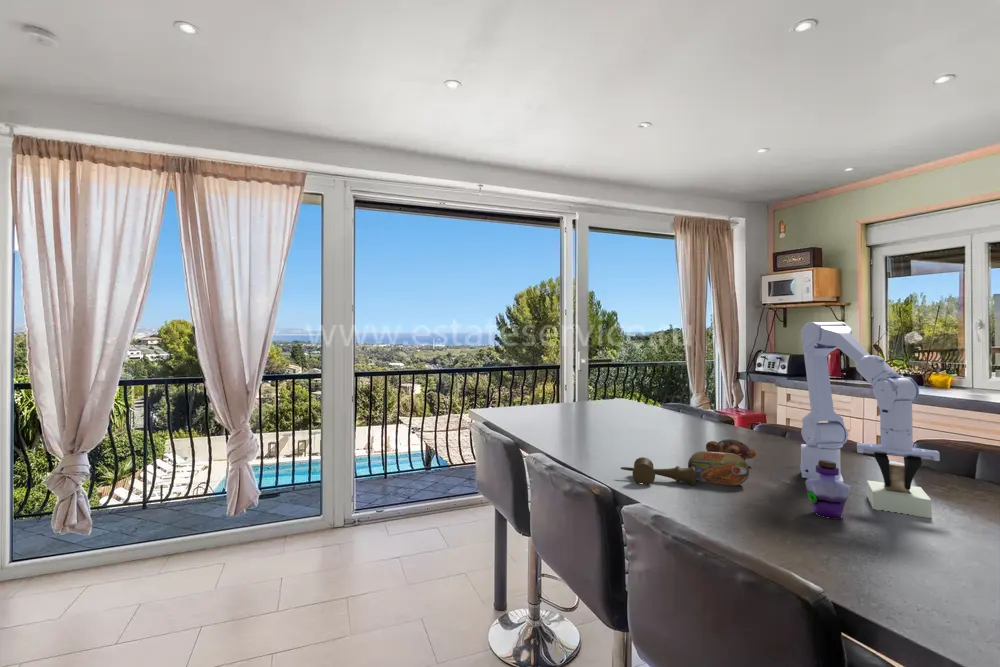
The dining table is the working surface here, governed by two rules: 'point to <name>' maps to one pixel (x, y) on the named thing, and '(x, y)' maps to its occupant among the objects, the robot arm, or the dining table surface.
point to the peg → (897, 478)
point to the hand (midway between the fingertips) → (897, 486)
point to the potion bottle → (827, 491)
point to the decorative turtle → (731, 448)
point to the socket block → (899, 500)
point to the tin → (719, 468)
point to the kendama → (660, 472)
